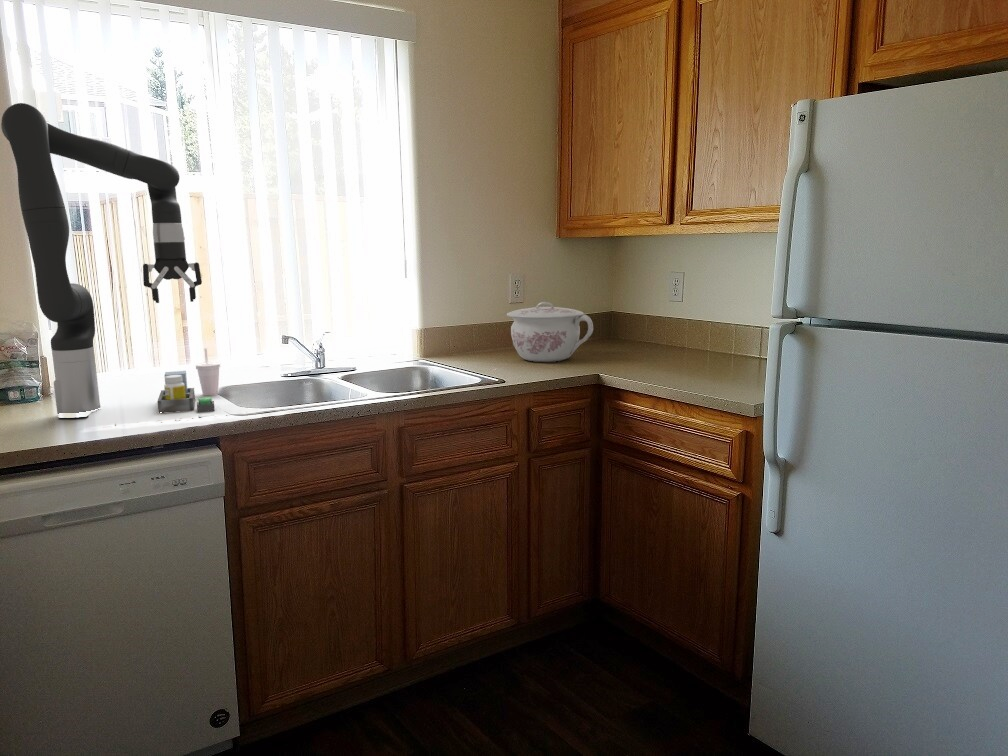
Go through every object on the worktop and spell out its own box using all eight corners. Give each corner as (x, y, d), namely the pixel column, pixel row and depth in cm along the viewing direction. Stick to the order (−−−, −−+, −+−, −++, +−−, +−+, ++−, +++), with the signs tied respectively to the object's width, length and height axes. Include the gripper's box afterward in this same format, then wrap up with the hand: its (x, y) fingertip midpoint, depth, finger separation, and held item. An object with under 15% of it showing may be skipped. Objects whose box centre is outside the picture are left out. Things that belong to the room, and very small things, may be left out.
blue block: (167, 405, 198) (164, 375, 196) (168, 401, 202) (165, 372, 201) (188, 403, 200) (185, 373, 198) (188, 399, 204) (185, 370, 203)
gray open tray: (158, 418, 188) (156, 401, 188) (162, 405, 204) (160, 389, 203) (194, 415, 191) (193, 398, 190) (195, 402, 207) (194, 387, 206)
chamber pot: (494, 357, 278) (493, 301, 274) (560, 352, 289) (560, 297, 286) (529, 368, 253) (528, 306, 249) (599, 361, 264) (599, 302, 261)
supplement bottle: (189, 406, 196) (186, 374, 194) (182, 410, 191) (179, 377, 190) (171, 406, 196) (167, 374, 194) (163, 410, 191) (160, 377, 190)
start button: (199, 416, 189) (198, 400, 189) (199, 413, 192) (198, 397, 192) (213, 415, 191) (211, 399, 190) (213, 412, 193) (211, 396, 193)
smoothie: (215, 395, 217) (211, 346, 214) (227, 397, 213) (223, 348, 210) (194, 398, 212) (189, 349, 209) (206, 401, 208) (201, 350, 205)
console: (197, 417, 189) (196, 405, 188) (198, 413, 193) (197, 402, 192) (214, 415, 190) (213, 403, 190) (214, 412, 194) (213, 400, 193)
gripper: (138, 241, 195) (144, 304, 198) (197, 240, 200) (203, 302, 203) (141, 241, 202) (147, 302, 205) (198, 240, 207) (203, 300, 210)
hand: (175, 302), depth 204 cm, fingers open, 8 cm apart
